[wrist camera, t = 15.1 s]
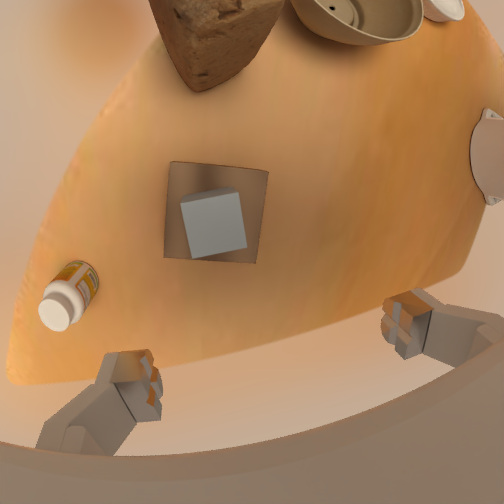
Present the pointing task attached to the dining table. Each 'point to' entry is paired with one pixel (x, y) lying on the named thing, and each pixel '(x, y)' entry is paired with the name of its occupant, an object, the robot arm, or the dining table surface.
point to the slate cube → (213, 222)
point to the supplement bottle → (68, 296)
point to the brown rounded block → (213, 35)
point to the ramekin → (443, 10)
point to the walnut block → (205, 179)
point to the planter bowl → (361, 19)
